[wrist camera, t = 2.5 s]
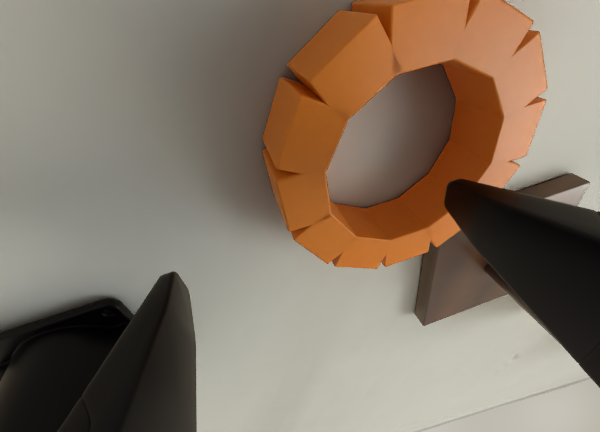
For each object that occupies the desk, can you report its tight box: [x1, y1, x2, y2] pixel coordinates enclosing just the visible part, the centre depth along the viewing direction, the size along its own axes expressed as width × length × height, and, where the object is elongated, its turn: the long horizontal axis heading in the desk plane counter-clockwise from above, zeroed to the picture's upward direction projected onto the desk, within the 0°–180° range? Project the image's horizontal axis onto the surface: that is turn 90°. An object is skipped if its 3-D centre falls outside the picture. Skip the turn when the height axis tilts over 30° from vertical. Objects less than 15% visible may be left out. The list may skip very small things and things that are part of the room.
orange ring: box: [263, 0, 547, 269], centre depth 12 cm, size 11×11×3 cm
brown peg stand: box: [415, 173, 590, 342], centre depth 18 cm, size 10×10×7 cm
